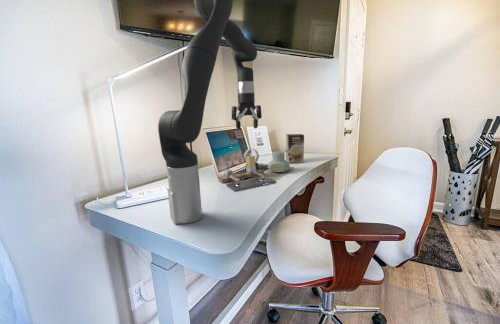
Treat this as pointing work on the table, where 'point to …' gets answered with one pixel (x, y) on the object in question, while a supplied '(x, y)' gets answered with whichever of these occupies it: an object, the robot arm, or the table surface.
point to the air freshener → (278, 162)
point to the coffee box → (295, 148)
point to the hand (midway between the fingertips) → (247, 128)
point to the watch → (249, 154)
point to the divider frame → (236, 176)
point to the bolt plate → (249, 183)
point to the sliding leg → (252, 166)
